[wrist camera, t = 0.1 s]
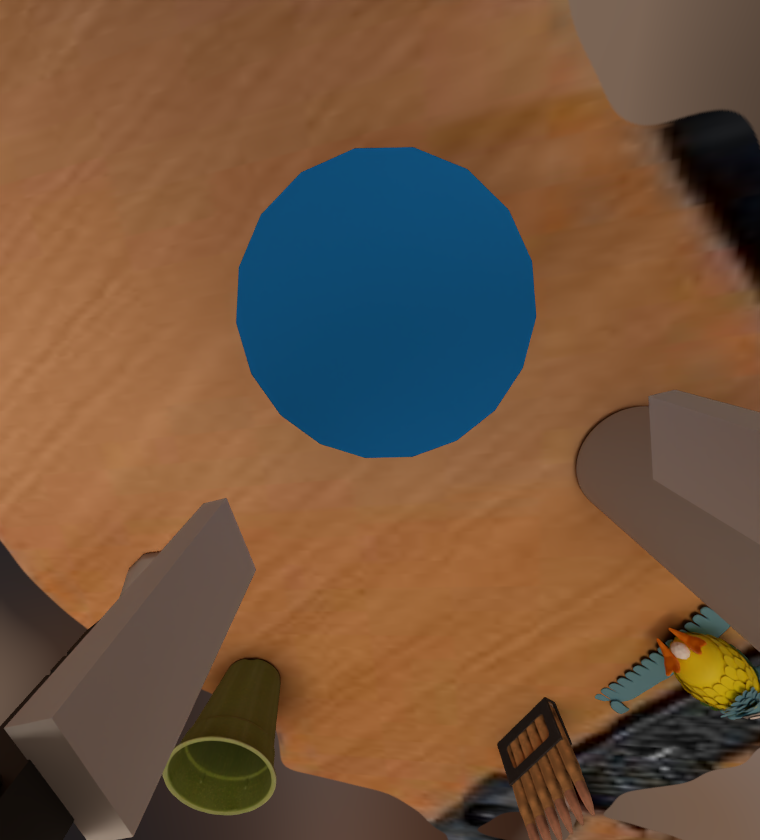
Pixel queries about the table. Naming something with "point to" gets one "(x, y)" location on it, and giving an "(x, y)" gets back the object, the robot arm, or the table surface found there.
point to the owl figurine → (697, 670)
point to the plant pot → (230, 744)
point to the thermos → (386, 302)
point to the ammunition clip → (544, 771)
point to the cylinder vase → (670, 521)
